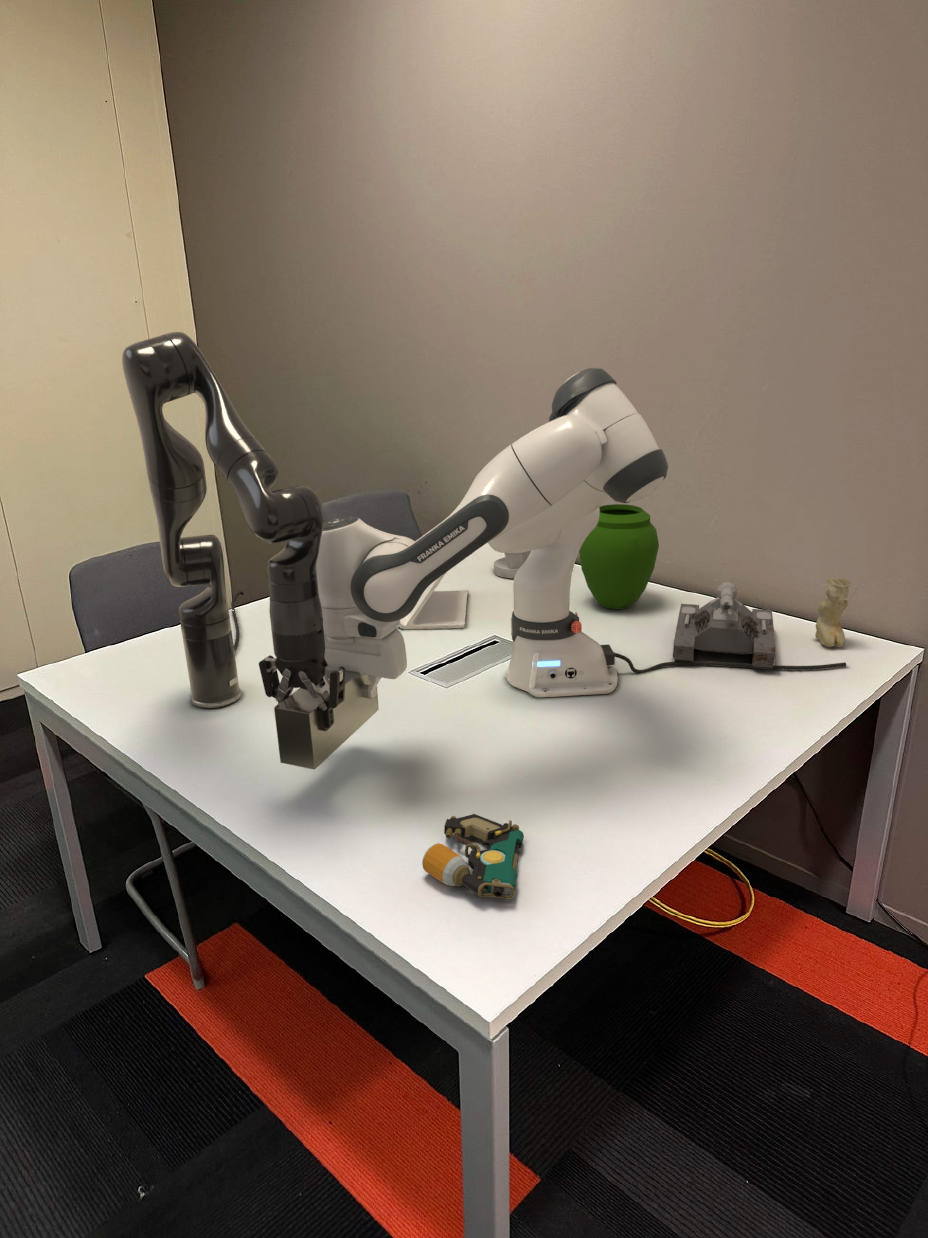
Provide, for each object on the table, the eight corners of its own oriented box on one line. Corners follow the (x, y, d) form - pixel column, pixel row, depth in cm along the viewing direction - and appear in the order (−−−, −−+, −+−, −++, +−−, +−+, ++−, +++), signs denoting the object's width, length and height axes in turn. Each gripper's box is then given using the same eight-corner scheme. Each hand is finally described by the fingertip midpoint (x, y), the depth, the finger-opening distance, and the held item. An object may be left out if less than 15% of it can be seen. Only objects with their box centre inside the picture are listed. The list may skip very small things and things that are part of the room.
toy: (679, 623, 201) (683, 562, 196) (769, 630, 195) (776, 567, 190) (671, 666, 178) (676, 598, 173) (773, 675, 173) (781, 605, 167)
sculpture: (821, 649, 184) (830, 583, 179) (808, 637, 191) (816, 573, 185) (848, 649, 184) (858, 582, 179) (834, 636, 191) (843, 572, 185)
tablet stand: (467, 593, 225) (465, 531, 219) (465, 628, 202) (462, 559, 196) (399, 594, 226) (395, 532, 220) (388, 629, 203) (384, 560, 197)
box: (347, 704, 149) (343, 654, 146) (378, 709, 147) (375, 659, 143) (280, 762, 131) (273, 707, 127) (314, 769, 129) (309, 713, 125)
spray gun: (457, 823, 128) (551, 849, 122) (403, 883, 114) (507, 916, 108) (457, 798, 127) (553, 823, 121) (403, 855, 113) (509, 887, 107)
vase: (599, 587, 227) (601, 497, 218) (668, 600, 216) (673, 505, 208) (562, 608, 212) (564, 513, 204) (634, 623, 202) (639, 523, 193)
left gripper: (240, 627, 125) (254, 729, 130) (326, 638, 119) (336, 744, 125) (270, 610, 131) (281, 708, 137) (352, 620, 126) (360, 721, 132)
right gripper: (278, 616, 139) (287, 693, 144) (391, 630, 132) (396, 710, 137) (299, 604, 145) (307, 678, 149) (408, 616, 137) (413, 694, 142)
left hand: (307, 725), depth 131 cm, fingers closed on box, 6 cm apart
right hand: (350, 694), depth 143 cm, fingers closed on box, 6 cm apart
